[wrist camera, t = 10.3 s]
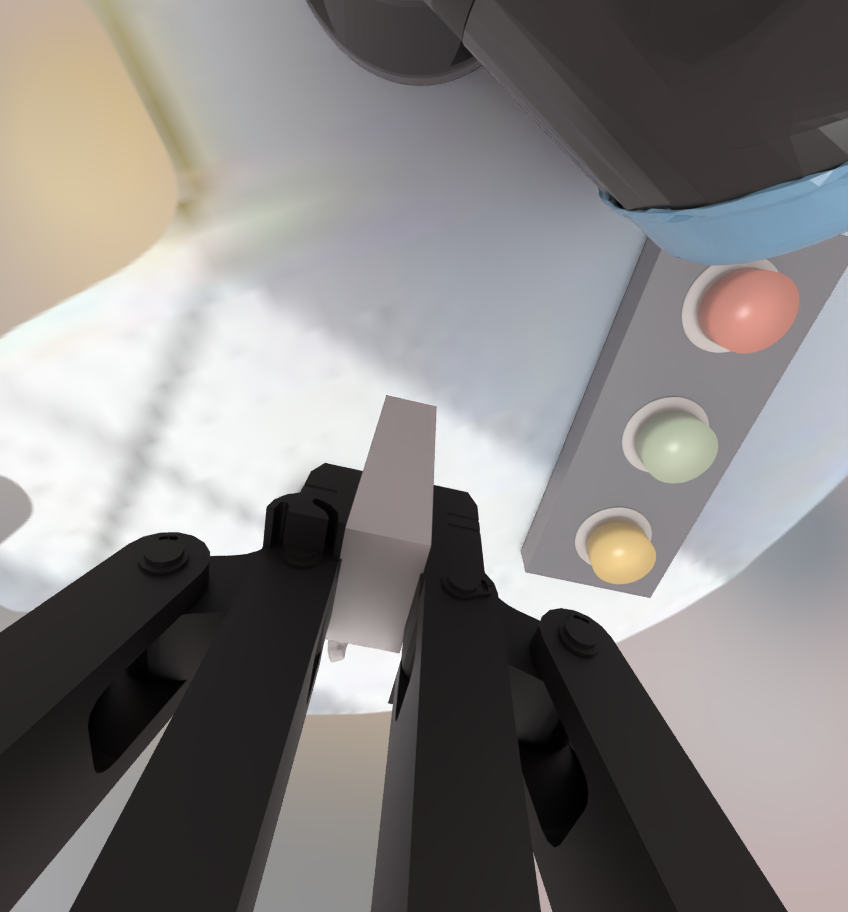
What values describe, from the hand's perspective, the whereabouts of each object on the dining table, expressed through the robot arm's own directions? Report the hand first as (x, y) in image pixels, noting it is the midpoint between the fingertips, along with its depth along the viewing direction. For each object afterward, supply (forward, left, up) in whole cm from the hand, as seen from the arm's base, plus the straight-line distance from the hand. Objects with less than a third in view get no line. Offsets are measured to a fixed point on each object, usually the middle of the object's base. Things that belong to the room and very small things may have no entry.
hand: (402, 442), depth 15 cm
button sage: (+5, +20, -20) cm, 29 cm away
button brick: (-5, +20, -20) cm, 29 cm away
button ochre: (+15, +20, -20) cm, 32 cm away
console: (+5, +20, -24) cm, 32 cm away
